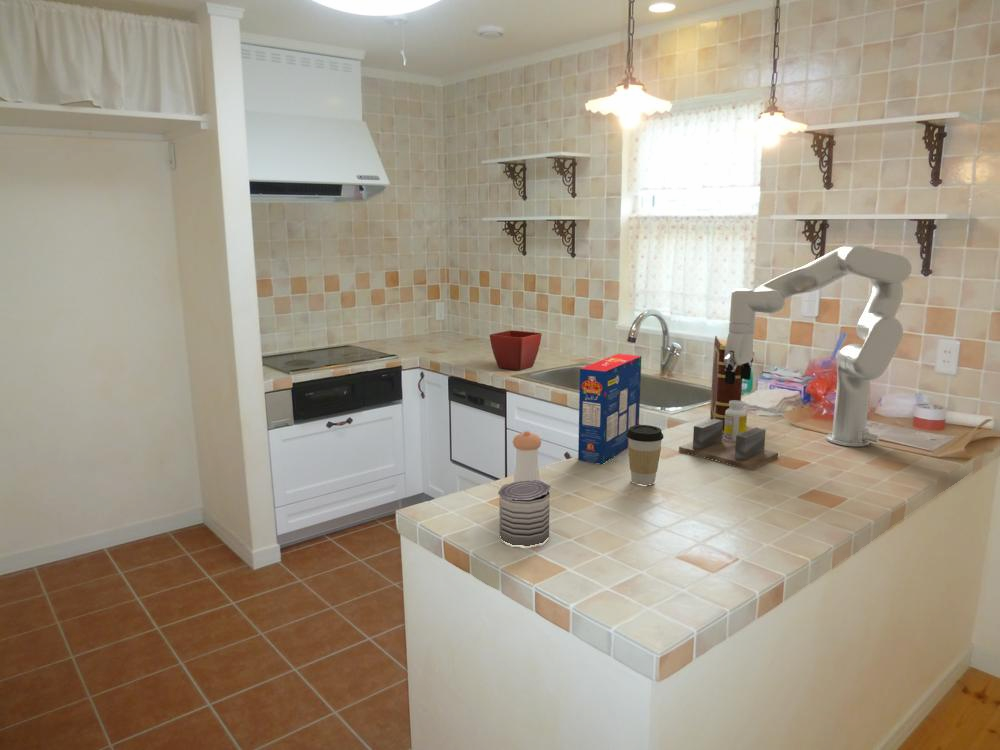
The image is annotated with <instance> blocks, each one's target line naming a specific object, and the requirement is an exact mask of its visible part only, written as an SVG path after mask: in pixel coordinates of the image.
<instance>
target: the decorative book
mask: <svg viewBox="0 0 1000 750" xmlns="http://www.w3.org/2000/svg"><path fill="white" fill-rule="evenodd" d="M726 342H727V339H718V337H717V335H715V337H714V342H713V343H714V346H713V357H712V358H713V360H712V374H711V395H710V409H709V410H710V420H712V419H719V420H723V430H722V435H724V427H725V411H726V410H727V409H728V408H729V407H730V406H729V401H732V400H738V401H742V388H743V379H741V378H740V375H741V366H742V365H737V367H736V369H735V371H734V372H736V376H735V384H728V383H725V373H726V371H725V367H724V365H725V364H724V357H725V349H726ZM731 366H732V367H733V365H731Z"/></svg>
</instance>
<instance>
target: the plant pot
mask: <svg viewBox="0 0 1000 750" xmlns="http://www.w3.org/2000/svg"><path fill="white" fill-rule="evenodd" d="M542 335H543V333H541V332H534V331H533V332H532V331H521V330H505V331H500V332H494V333H491V334H489V341H490V345H491V350H492V353H493V356H494V359H495V362H496V364H497V368H500V369H506V370H514V371H522V370H525V369H528V368H532V367H533V366H534V364H535V361H536V359H537V356H538V352H539V351H540V346H541V345H540V344H541V341H542Z"/></svg>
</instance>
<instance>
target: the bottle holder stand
mask: <svg viewBox="0 0 1000 750" xmlns="http://www.w3.org/2000/svg"><path fill="white" fill-rule="evenodd" d="M722 430H723V420H719V419H712V420H711V419H710V420H706V421H703V422H702V423H699V424H696V425H693V433H692V434H693V436H692V441H690V442H687V443H685V444H682V445H680V446H678V447H679V448H678V449H679V450H678V452H679V451H680V453H683V452H685V453H684V454H687V453H689V454H688V455H691V454H693V455H692V456H694V455H697V456H696V457H698V456H701V457H700V458H702V457H705V458H704V459H706V458H709V459H708V460H710V459H713V460H712V461H714V460H717V461H720V462H719V463H721V462H724V463H723V464H725V463H728V464H727V465H729V464H731V465H730V466H733V465H735V466H734V467H737V466H739V467H738V468H740V467H742V468H741V469H744V468H745V469H744V470H748V469H750V470H749V471H754V470H756V469H757V467H758V468H760V467H762V466H764V465H766V464H769V463H770V462H773V461H775V460H777V459H779V453H778V452H775V451H772V450H766V449H765V443H766V429H765V428H760V427H754V428H752V429H750V430H749V429H748V430H746V432H744V433H742V434H739V435H737V436H736V443H735V442H729V441H726V440H725V439H723V434H722ZM717 461H716V462H717ZM761 465H762V466H761ZM759 466H760V467H759ZM755 468H756V469H755ZM753 469H754V470H753Z"/></svg>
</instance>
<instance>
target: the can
mask: <svg viewBox="0 0 1000 750" xmlns="http://www.w3.org/2000/svg"><path fill="white" fill-rule="evenodd" d="M551 487H552V486H551V485H550V484H548V483H546V482H544V481H541V479H540V480H519V481H516V482H514V481H513V482H510V483H507V484H503V485H502V486H501V488H500V489H499V491H498V492H497V494H498V495H499V497H498V498H499V537H500V536H501V538H500V540H501V539H502V540H503V541H505V542H507V543H510V544H512V545H524V546H530V545H535V544H539V543H543V542H544V541H545V540H546V539H547V538H548V537H549V538H550V502H551V501H550V498H551V496H550V494H551V493H550V492H549V490H550V489H551Z"/></svg>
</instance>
